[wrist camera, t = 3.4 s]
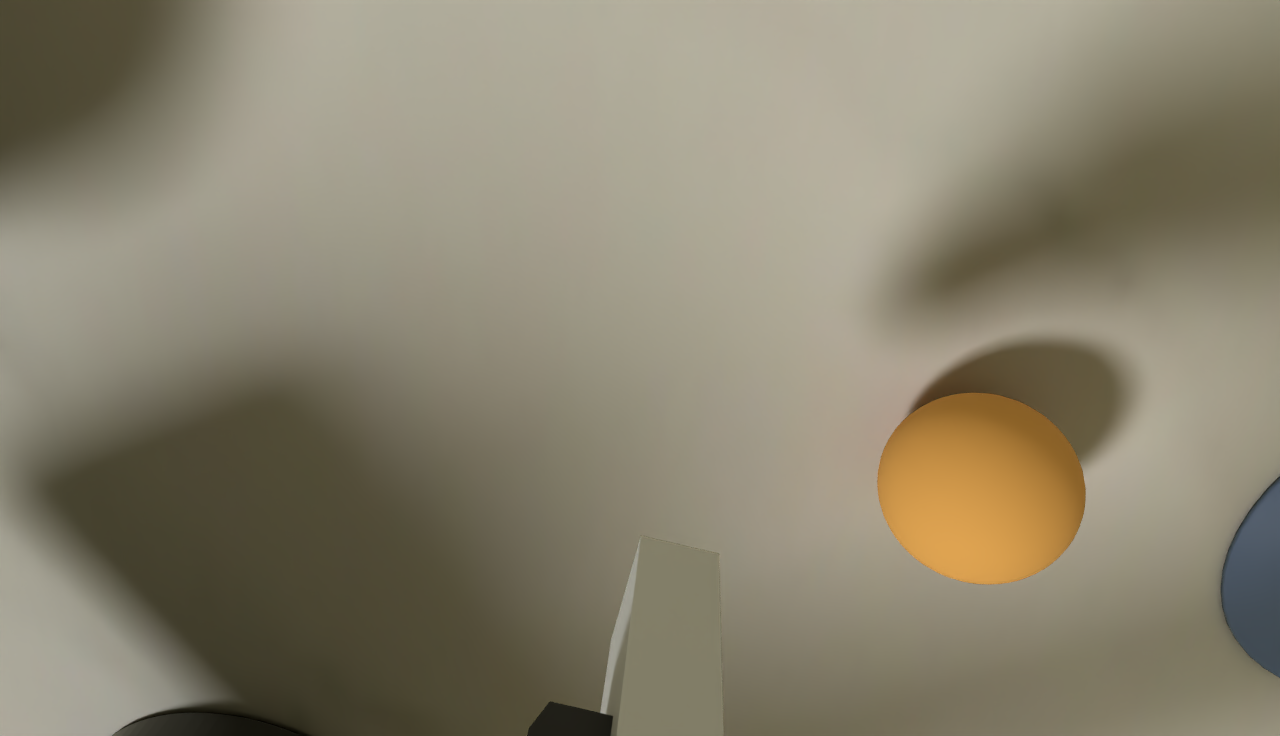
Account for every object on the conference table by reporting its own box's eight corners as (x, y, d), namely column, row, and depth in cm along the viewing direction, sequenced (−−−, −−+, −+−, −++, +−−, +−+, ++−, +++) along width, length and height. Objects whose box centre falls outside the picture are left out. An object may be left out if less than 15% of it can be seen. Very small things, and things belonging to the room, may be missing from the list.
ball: (837, 488, 25) (873, 602, 20) (897, 344, 23) (953, 434, 18) (991, 523, 25) (1064, 645, 20) (1066, 384, 23) (1169, 484, 18)
